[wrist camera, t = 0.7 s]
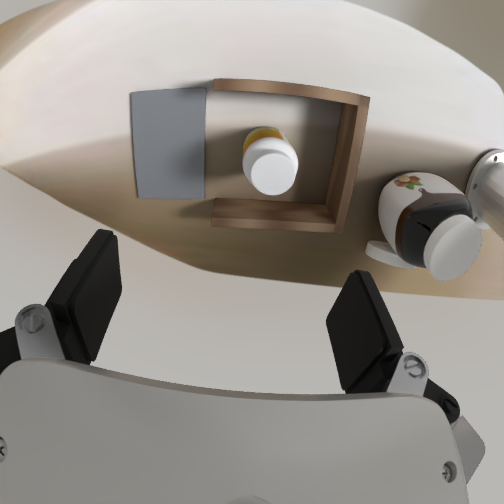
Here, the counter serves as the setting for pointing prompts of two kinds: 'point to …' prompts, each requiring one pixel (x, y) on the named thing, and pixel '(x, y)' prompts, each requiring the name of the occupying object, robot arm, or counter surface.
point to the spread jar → (426, 226)
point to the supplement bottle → (269, 160)
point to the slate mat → (169, 142)
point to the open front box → (341, 178)
